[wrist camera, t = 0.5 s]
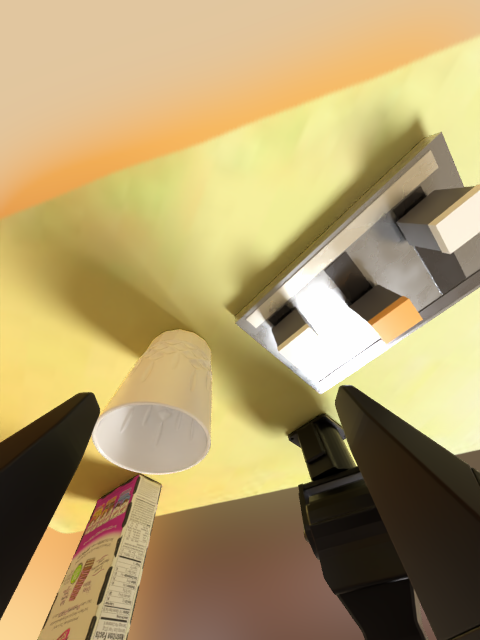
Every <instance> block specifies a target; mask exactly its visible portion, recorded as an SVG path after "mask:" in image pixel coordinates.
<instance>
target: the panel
mask: <svg viewBox="0 0 480 640" xmlns="http://www.w3.org/2000/svg"><path fill="white" fill-rule="evenodd" d="M462 187H464V186H463V183H462V181H461V178H460V176H459V173H458V171H457V168H456V166H455V164H454V161H453V159H452V156H451V154H450V151H449V149H448V146H447V144H446V142H445V139H444V137H443V134H442V132H440V133H437V134H434V135H431V136H429V137H426V138H423V139H422V140H421V141H420V142H419V143H418V144H417V145H416V146H415V147H414V148H413V149H412V150H411V151H410V152H408V153H407V154H406V155H405V156H404V157H403V158H402V159H401V160H400V161H399V162H398V163H397V164H396V165H395V166H394V167H393V168H392V169H390V170H389V171H388V172H387V173H386V174H385V175H384V176H383V177H382V178H381V179H380V180H379V181H378V182H377V183H376V184H375V185H374V186H372V187H371V188H370V189H369V190H368V191H367V192H366V193H365V194H364V195H363V196H362V197H361V198H360V199H359V200H358V201H357V202H356V203H354V204H353V205H352V206H351V207H350V208H349V209H348V210H347V211H346V212H345V213H344V214H343V215H342V216H341V217H340V218H339V219H337V220H336V221H335V222H334V223H333V224H332V225H331V226H330V227H329V228H328V229H327V230H326V231H325V232H324V233H323V234H322V235H321V236H319V237H318V238H317V239H316V240H315V241H314V242H313V243H312V244H311V245H310V246H309V247H308V248H307V249H306V250H305V251H304V252H303V253H301V254H300V255H299V256H298V257H297V258H296V259H295V260H294V261H293V262H292V263H291V264H290V265H289V266H288V267H287V268H286V269H285V270H283V271H282V272H281V273H280V274H279V275H278V276H277V277H276V278H275V279H274V280H273V281H272V282H271V283H270V284H269V285H268V286H267V287H265V288H264V289H263V290H262V291H261V292H260V293H259V294H258V295H257V296H256V297H255V298H254V299H253V300H252V301H251V302H250V303H249V304H247V305H246V306H245V307H244V308H243V309H242V310H241V311H240V312H239V313H238V314H237V315H236V316H235V323H236V324H237V325H238V326H239V327H240V328H242V329H243V330H244V331H245V332H246V333H248V334H249V335H250V336H251V337H252V338H254V339H255V340H256V341H257V342H258V343H260V344H261V345H262V346H263V347H264V348H266V349H267V350H268V351H269V352H270V353H272V354H273V355H274V356H275V357H276V358H278V359H279V360H280V361H281V362H282V363H284V364H285V365H286V366H287V367H288V368H290V369H291V370H292V371H293V372H294V373H296V374H297V375H298V376H299V377H300V378H302V379H303V380H304V381H305V382H306V383H307V384H309V385H310V386H311V387H312V388H313V389H315V390H316V391H317V392H318V393H319V394H322V393H323V392H325V391H326V390H328V389H329V388H331V387H332V386H334V385H335V384H337V383H338V382H340V381H341V380H343V379H344V378H346V377H347V376H348V375H350V374H351V373H353V372H354V371H356V370H357V369H359V368H360V367H362V366H363V365H365V364H366V363H368V362H369V361H371V360H372V359H374V358H375V357H377V356H378V355H380V354H381V353H383V352H384V351H386V350H387V349H389V348H390V347H392V346H393V345H395V344H396V343H398V342H399V341H401V340H402V339H403V338H405V337H406V336H408V335H409V334H411V333H412V332H414V331H415V330H417V329H418V328H420V327H421V326H423V325H424V324H426V323H427V322H429V321H430V320H432V319H433V318H435V317H436V316H438V315H439V314H441V313H442V312H444V311H445V310H447V309H448V308H450V307H451V306H453V305H454V304H456V303H457V302H459V301H460V300H461V299H463V298H464V297H466V296H467V295H469V294H470V293H472V292H473V291H475V290H476V289H478V288H479V287H480V232H479V233H478V234H477V235H475V236H474V237H473V238H471V239H470V240H469V241H467V242H466V243H465V244H463V245H462V246H461V247H459V248H458V249H457V250H455V251H454V252H453V253H451V254H447V253H442V251H438V250H432V249H427V248H422V247H417V246H412V245H409V243H408V241H407V240H406V238H405V236H404V235H403V233H402V231H401V229H400V228H399V226H398V224H397V223H396V222H397V221H399V220H400V219H401V218H402V217H403V216H404V215H406V214H407V213H408V212H409V211H410V210H411V209H413V208H414V207H415V206H416V205H417V204H418V203H420V202H421V201H422V200H423V199H424V198H425V197H427V196H428V195H429V194H430V193H431V192H432V191H434V190H441V189H452V188H462ZM377 284H378V285H380V286H382V287H384V288H386V289H389V290H391V291H393V292H395V293H397V294H399V295H401V296H405V297H407V298H409V299H410V301H411V302H412V304H413V305H414V307H415V308H416V310H417V311H418V313H419V314H420V316H421V317H422V319H423V320H421V321H420V322H418V323H417V324H415V325H414V326H413V327H411V328H410V329H408V330H407V331H405V332H404V333H402V334H401V335H399V336H398V337H396V338H395V339H393V340H392V341H391V342H389V343H388V344H386V343H385V342H383V341H382V340H381V339H380V337H379V336H377V335H376V334H375V333H374V332H373V331H371V330H370V329H369V328H368V327H367V326H365V325H364V324H363V323H362V322H361V321H360V320H359V318H358V317H357V316H356V315H355V314H354V313H353V311H352V310H351V309H350V308H349V306H351V305H352V304H353V303H354V302H356V301H357V300H358V299H360V298H361V297H362V296H363V295H365V294H366V293H367V292H368V291H370V290H371V289H372V288H374V287H375V286H376V285H377ZM294 309H297V310H298V311H299V312H300V313H301V314H302V315H303V316H304V317H305V318H306V319H307V320H308V321H309V322H310V323H311V324H312V326H313V327H314V329H315V330H316V331H317V333H318V334H319V335H320V337H321V338H322V339H323V340H324V341H325V342H326V344H327V345H328V346H327V347H325V348H324V349H323V350H321V351H320V352H319V353H317V354H316V355H315V356H313V357H312V358H311V359H309V360H308V361H306V362H305V363H304V364H302V365H301V366H300V367H298V368H297V367H296V366H295V365H293V364H292V363H291V362H290V361H289V360H288V359H286V358H285V357H284V356H283V355H282V354H280V353H279V352H278V349H277V344H276V341H275V338H274V336H273V333H272V330H271V329H272V328H273V327H275V326H276V325H277V324H278V323H279V322H280V321H282V320H283V319H284V318H285V317H286V316H287V315H289V314H290V313H291V312H292V311H293V310H294Z"/></svg>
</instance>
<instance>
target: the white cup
mask: <svg viewBox="0 0 480 640" xmlns="http://www.w3.org/2000/svg"><path fill="white" fill-rule="evenodd" d="M211 413H212V371H211V350H210V348H209V346H208V345H207V343H206V341H205V340H204V339H202V338H201V337H199V336H198V335H197V334H195V333H194V332H189V331H185V330H181V329H177V330H171V331H165V332H163V333H162V334H160V335H159V336H157V337H156V338H155V339H153V341H152V342H151V344H150V345H149V347H148V348H147V350H146V351H145V352H144V354H143V355H142V356H141V357H140V358H139V360H138V361H137V362H136V364H135V365H134V367H133V368H132V369H131V371H130V372H129V373H128V375H127V376H126V378H125V379H124V380H123V382H122V383H121V385H120V386H119V388H118V389H117V391H116V392H115V394H114V395H113V397H112V398H111V400H110V401H109V403H108V404H107V405H106V407H105V408H104V410H103V411H102V413H101V414H100V416H99V417H98V419H97V422H96V424H95V427H94V430H93V432H92V440H93V443H94V445H95V447H96V449H97V450H98V451H99V453H100V454H101V455H102V456H103V457H105V458H106V459H107V460H108V461H110V462H112V463H113V464H115V465H117V466H119V467H121V468H124V469H127V470H130V471H134V472H138V473H144V474H171V473H176V472H180V471H183V470H186V469H189V468H191V467H193V466H195V465H196V464H198V463H199V462H200V461H202V460H203V459H204V457H205V456H206V455H207V453H208V451H209V449H210V445H211Z"/></svg>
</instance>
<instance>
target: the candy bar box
mask: <svg viewBox="0 0 480 640" xmlns="http://www.w3.org/2000/svg"><path fill="white" fill-rule="evenodd" d="M161 487H162V485H161V484H160V483H158V482H156V481H153V480H151V479H149V478H147V477H145V476H143V475H140V474H139V475H137V476H135V477H134V478H132V479H131V480H129V481H128V482H126V483H124V484H123V485H121V486H120V487H118V488H116V489H115V490H113V491H112V492H110V493H109V494H107V495H105V496H104V497H102V498H101V499H99V500H98V501H97V503H96V506H95V508H94V510H93V513H92V515H91V517H90V520H89V522H88V524H87V526H86V529H85V531H84V534H83V536H82V538H81V541H80V543H79V545H78V547H77V550H76V552H75V555H74V556H73V559H72V561H71V563H70V566H69V568H68V571H67V573H66V575H65V577H64V580H63V582H62V584H61V586H60V589H59V591H58V593H57V596H56V598H55V600H54V603H53V605H52V607H51V610H50V612H49V614H48V616H47V619H46V621H45V624H44V626H43V628H42V630H41V632H40V635H39V637H38V639H37V640H127V637H128V633H129V629H130V624H131V620H132V615H133V611H134V606H135V602H136V597H137V593H138V589H139V584H140V580H141V575H142V571H143V565H144V561H145V557H146V552H147V549H148V544H149V540H150V535H151V531H152V526H153V522H154V517H155V513H156V509H157V504H158V500H159V496H160V491H161Z"/></svg>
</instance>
